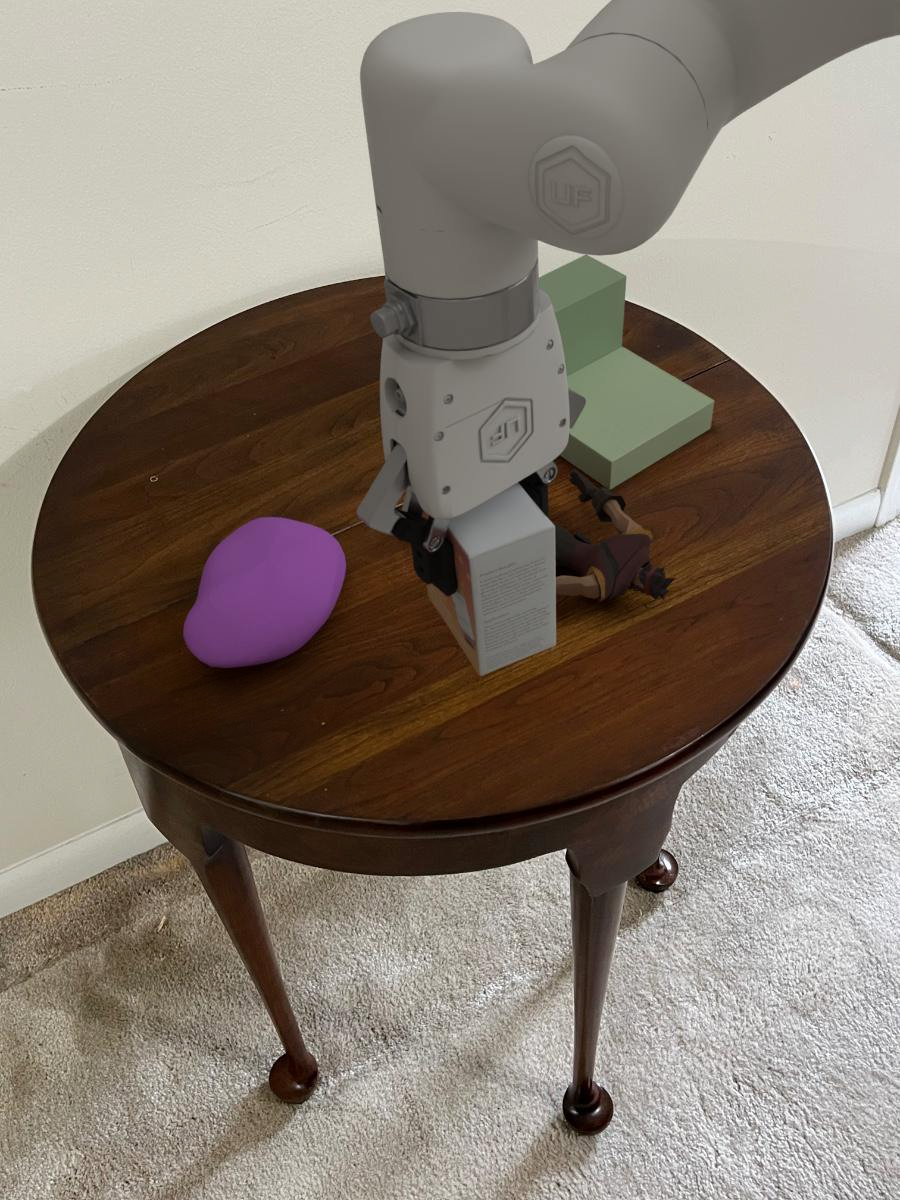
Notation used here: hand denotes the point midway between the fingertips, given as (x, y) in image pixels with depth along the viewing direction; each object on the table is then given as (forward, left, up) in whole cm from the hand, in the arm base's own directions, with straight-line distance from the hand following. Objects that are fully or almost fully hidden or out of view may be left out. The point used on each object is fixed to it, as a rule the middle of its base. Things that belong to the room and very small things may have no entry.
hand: (483, 552), depth 68 cm
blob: (+17, +8, -13) cm, 23 cm away
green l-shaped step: (+18, -27, -13) cm, 35 cm away
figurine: (+7, -12, -13) cm, 19 cm away
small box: (0, 0, -6) cm, 6 cm away
